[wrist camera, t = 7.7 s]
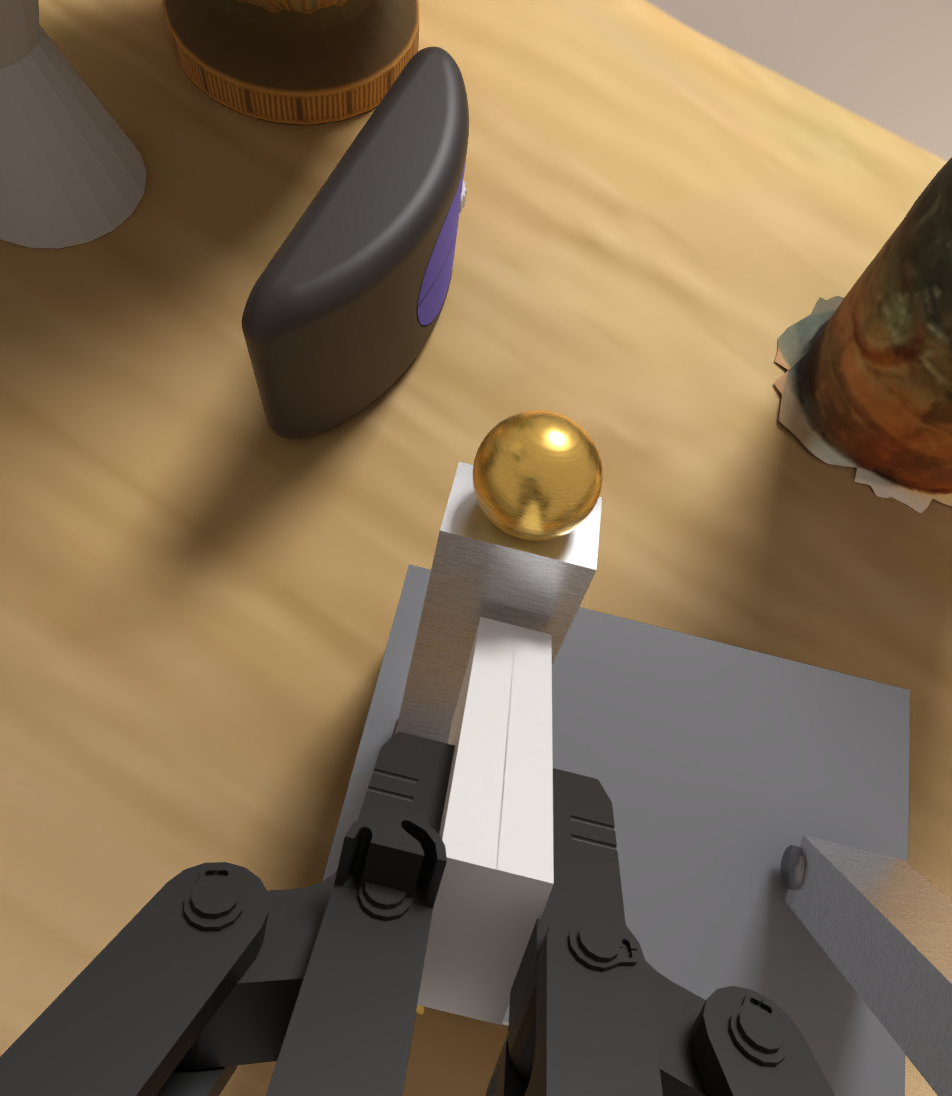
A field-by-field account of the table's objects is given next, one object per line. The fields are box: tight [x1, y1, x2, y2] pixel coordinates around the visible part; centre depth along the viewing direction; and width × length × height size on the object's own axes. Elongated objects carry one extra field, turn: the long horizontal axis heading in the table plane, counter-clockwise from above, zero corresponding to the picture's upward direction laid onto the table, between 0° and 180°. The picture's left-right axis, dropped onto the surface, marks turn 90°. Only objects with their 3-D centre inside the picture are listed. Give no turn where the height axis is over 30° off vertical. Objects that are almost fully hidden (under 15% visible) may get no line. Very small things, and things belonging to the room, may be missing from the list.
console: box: [322, 565, 910, 1096], centre depth 27 cm, size 17×13×8 cm
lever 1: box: [392, 410, 603, 744], centre depth 18 cm, size 3×2×13 cm
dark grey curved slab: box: [242, 47, 469, 438], centre depth 34 cm, size 16×5×9 cm, turn 157°
